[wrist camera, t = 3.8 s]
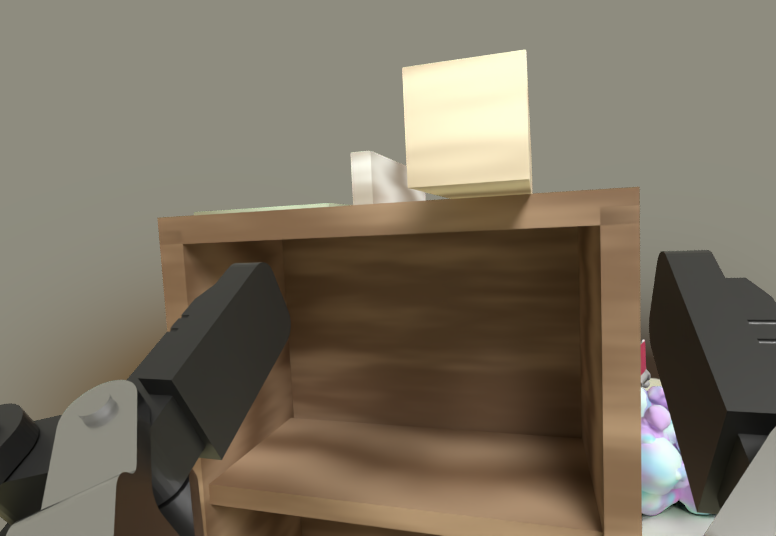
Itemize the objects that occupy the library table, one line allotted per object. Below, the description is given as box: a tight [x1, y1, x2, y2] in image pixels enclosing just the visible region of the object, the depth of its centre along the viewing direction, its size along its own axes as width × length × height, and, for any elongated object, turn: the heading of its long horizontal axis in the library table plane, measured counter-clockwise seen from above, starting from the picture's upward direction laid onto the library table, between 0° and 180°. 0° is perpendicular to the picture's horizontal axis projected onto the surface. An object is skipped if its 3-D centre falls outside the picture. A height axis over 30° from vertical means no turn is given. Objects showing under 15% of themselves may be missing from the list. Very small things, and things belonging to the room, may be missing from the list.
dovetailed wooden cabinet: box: [158, 151, 642, 536], centre depth 30 cm, size 12×24×34 cm, turn 73°
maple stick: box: [402, 50, 532, 199], centre depth 26 cm, size 24×4×4 cm, turn 163°
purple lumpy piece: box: [641, 340, 708, 515], centre depth 55 cm, size 20×22×18 cm
